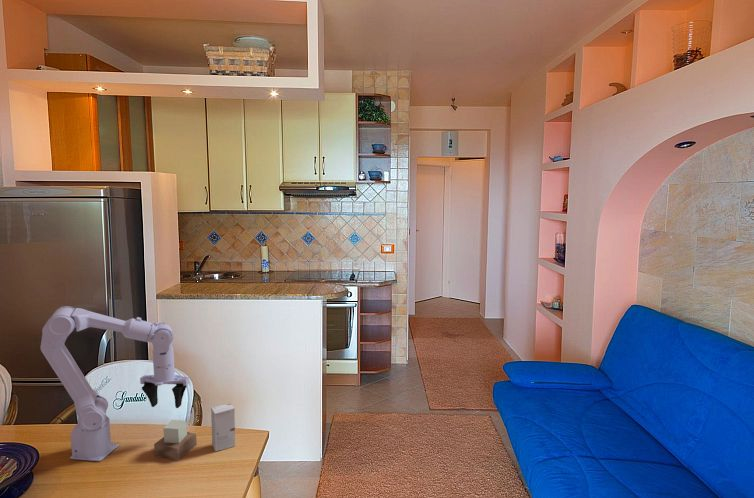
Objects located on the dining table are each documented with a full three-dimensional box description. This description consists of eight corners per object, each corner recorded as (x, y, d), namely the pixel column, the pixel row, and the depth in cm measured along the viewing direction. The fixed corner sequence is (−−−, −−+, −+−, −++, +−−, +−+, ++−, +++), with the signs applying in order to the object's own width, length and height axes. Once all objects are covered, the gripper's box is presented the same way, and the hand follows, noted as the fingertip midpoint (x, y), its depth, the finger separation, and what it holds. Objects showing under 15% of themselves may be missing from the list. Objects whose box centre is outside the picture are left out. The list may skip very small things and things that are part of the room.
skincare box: (215, 452, 131) (213, 414, 129) (211, 444, 134) (209, 407, 133) (236, 445, 134) (235, 408, 132) (232, 438, 138) (230, 402, 136)
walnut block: (155, 456, 129) (154, 444, 128) (174, 441, 137) (173, 429, 136) (178, 461, 127) (177, 448, 126) (196, 445, 134) (196, 433, 134)
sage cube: (164, 442, 129) (163, 428, 128) (172, 433, 134) (171, 419, 133) (179, 443, 129) (178, 429, 128) (187, 434, 133) (186, 420, 132)
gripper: (132, 368, 131) (136, 411, 133) (180, 370, 130) (182, 413, 132) (146, 359, 138) (149, 400, 140) (191, 360, 137) (194, 402, 139)
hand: (166, 405), depth 137 cm, fingers open, 7 cm apart
